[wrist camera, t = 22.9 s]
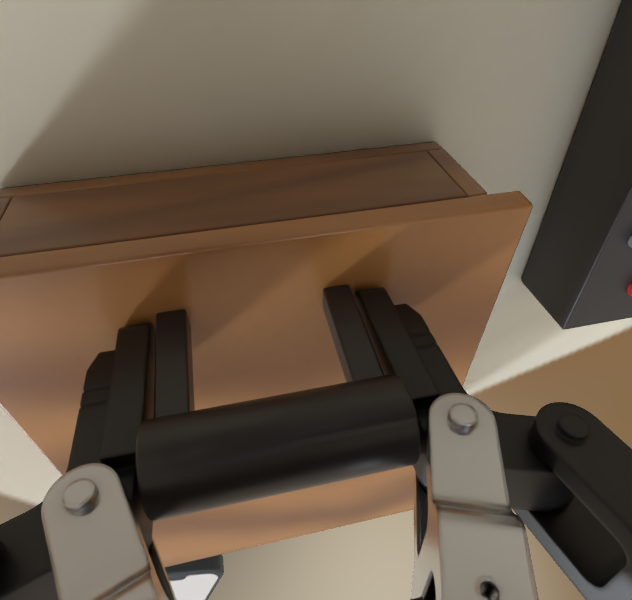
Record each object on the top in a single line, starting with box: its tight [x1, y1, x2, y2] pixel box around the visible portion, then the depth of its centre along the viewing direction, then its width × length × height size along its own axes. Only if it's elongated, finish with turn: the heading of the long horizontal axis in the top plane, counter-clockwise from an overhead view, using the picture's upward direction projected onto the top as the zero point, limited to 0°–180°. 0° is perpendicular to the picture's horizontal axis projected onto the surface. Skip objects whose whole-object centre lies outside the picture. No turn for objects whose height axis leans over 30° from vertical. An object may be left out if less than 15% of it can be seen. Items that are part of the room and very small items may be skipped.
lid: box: [0, 191, 532, 567], centre depth 16 cm, size 19×14×5 cm
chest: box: [0, 142, 487, 257], centre depth 19 cm, size 18×14×4 cm
